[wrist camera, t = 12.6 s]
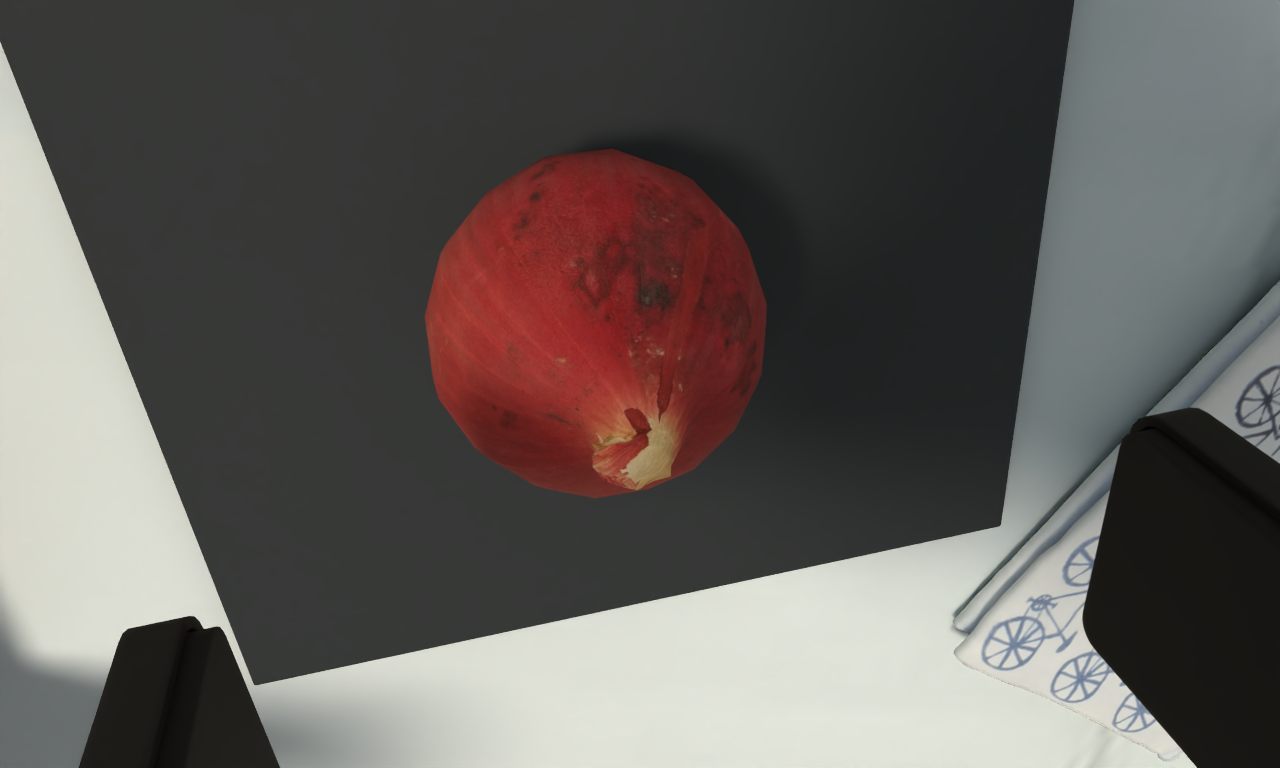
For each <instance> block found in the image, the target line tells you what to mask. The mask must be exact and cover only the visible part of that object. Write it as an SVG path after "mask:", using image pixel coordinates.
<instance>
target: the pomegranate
mask: <svg viewBox="0 0 1280 768" xmlns="http://www.w3.org/2000/svg"><path fill="white" fill-rule="evenodd" d="M766 309H767V303H766V300H765V297H764V294H763V291H762V288H761V285H760V282H759V279H758V276H757V273H756V270H755V267H754V264H753V261H752V258H751V255H750V252H749V249H748V247H747V245H746V243H745V241H744V239H743V237H742V235H741V233H740V231H739V229H738V228H737V227H736V226H735V224H734V223H733V222H732V221H731V220H730V219H729V218H728V217H727V216H726V215H725V214H724V213H723V212H722V211H721V209H720V208H719V207H718V206H717V205H716V204H715V203H714V202H713V201H712V200H711V199H710V198H709V197H708V196H707V194H706V193H705V192H704V191H703V190H702V189H701V188H700V187H699V186H698V185H697V184H696V183H695V182H694V181H693V180H692V179H690V178H688V177H687V176H685V175H683V174H681V173H679V172H677V171H675V170H672V169H670V168H667V167H664V166H661V165H658V164H655V163H652V162H650V161H647V160H644V159H641V158H638V157H635V156H633V155H630V154H627V153H624V152H621V151H618V150H615V149H605V150H596V151H588V152H579V153H571V154H562V155H554V156H546V157H542V158H540V159H539V160H537V161H536V162H534V163H532V164H531V165H529V166H528V167H526V168H524V169H523V170H521V171H520V172H518V173H517V174H515V175H513V176H512V177H510V178H509V179H507V180H505V181H504V182H502V183H501V184H499V185H498V186H496V187H494V188H493V189H491V190H490V191H488V192H486V194H485V195H484V196H483V198H482V199H481V200H480V201H479V203H478V204H477V205H476V206H475V208H474V209H473V210H472V211H471V213H470V214H469V215H468V216H467V218H466V219H465V220H464V221H463V223H462V224H461V225H460V226H459V228H458V229H457V230H456V231H455V233H454V234H453V235H452V236H451V238H450V239H449V240H448V241H447V243H446V245H445V247H444V248H443V250H442V252H441V254H440V257H439V261H438V265H437V269H436V273H435V277H434V281H433V285H432V289H431V293H430V297H429V301H428V305H427V309H426V313H425V323H426V330H427V338H428V345H429V353H430V360H431V368H432V376H433V380H434V384H435V388H436V391H437V395H438V398H439V400H440V401H441V403H442V404H443V405H444V407H445V408H446V409H447V411H448V412H449V413H450V415H451V416H452V417H453V419H454V420H455V421H456V423H457V424H458V426H459V427H460V428H461V430H462V431H463V432H464V434H465V435H466V436H467V438H468V439H469V440H470V442H471V443H472V444H473V446H474V447H475V448H476V449H477V450H479V451H480V452H481V453H482V454H484V455H485V456H486V457H488V458H489V459H490V460H492V461H494V462H496V463H497V464H499V465H501V466H502V467H504V468H506V469H508V470H509V471H511V472H513V473H514V474H516V475H518V476H520V477H521V478H523V479H525V480H526V481H528V482H530V483H532V484H533V485H535V486H538V487H542V488H546V489H550V490H555V491H560V492H565V493H570V494H576V495H581V496H586V497H591V498H600V497H606V496H612V495H617V494H623V493H629V492H635V491H641V490H646V489H650V488H652V487H654V486H657V485H659V484H661V483H664V482H666V481H668V480H671V479H673V478H675V477H678V476H680V475H682V474H685V473H687V472H689V471H692V470H694V469H695V468H696V467H697V466H698V465H699V464H700V463H701V462H702V461H703V460H704V459H705V458H706V457H707V456H708V455H709V454H710V453H711V452H713V451H714V450H715V449H716V448H717V447H718V446H719V445H720V444H721V443H722V442H723V441H724V440H725V439H726V438H727V437H728V436H729V435H730V434H731V433H732V432H734V431H735V429H736V427H737V425H738V423H739V421H740V419H741V417H742V415H743V413H744V411H745V409H746V407H747V405H748V403H749V400H750V398H751V396H752V394H753V392H754V390H755V388H756V386H757V384H758V381H759V379H760V377H761V374H762V364H763V353H764V341H765V329H766Z"/></svg>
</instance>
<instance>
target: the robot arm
mask: <svg viewBox="0 0 1280 768" xmlns="http://www.w3.org/2000/svg"><path fill="white" fill-rule="evenodd" d="M1082 621H1083V628H1084V631H1085V634H1086V636H1087V638H1088V640H1089V642H1090V644H1091V645H1092V647H1093V648H1094V649H1095V651H1096V652H1097V653H1098V654H1099V655H1100V656H1101V657H1102V659H1103V660H1104V661H1105V662H1106V663H1107V664H1108V665H1109V667H1110V668H1111V669H1112V670H1113V671H1114V672H1115V674H1116V675H1117V676H1118V677H1119V678H1120V679H1121V680H1122V682H1123V683H1124V684H1125V685H1126V686H1127V687H1128V688H1129V690H1130V691H1131V692H1132V693H1133V694H1134V695H1135V697H1136V698H1137V699H1138V700H1139V701H1140V702H1141V703H1142V705H1143V706H1144V707H1145V708H1146V709H1147V710H1148V711H1149V713H1150V714H1151V715H1152V716H1153V717H1154V718H1155V720H1156V721H1157V722H1158V723H1159V724H1160V725H1161V726H1162V728H1163V729H1164V730H1165V731H1166V732H1167V733H1168V734H1169V736H1170V737H1171V738H1172V739H1173V740H1174V741H1175V743H1176V744H1177V745H1178V746H1179V747H1180V748H1181V749H1182V751H1183V752H1184V753H1185V754H1186V755H1187V756H1188V757H1189V759H1190V760H1191V761H1192V762H1193V763H1194V764H1195V766H1196V767H1197V768H1280V463H1278V462H1277V461H1275V460H1274V459H1273V458H1271V457H1270V456H1268V455H1267V454H1266V453H1264V452H1263V451H1261V450H1260V449H1259V448H1257V447H1256V446H1254V445H1253V444H1251V443H1250V442H1249V441H1247V440H1246V439H1244V438H1243V437H1242V436H1240V435H1239V434H1237V433H1236V432H1234V431H1233V430H1232V429H1230V428H1229V427H1227V426H1226V425H1225V424H1223V423H1222V422H1220V421H1219V420H1218V419H1216V418H1215V417H1213V416H1212V415H1210V414H1209V413H1207V412H1205V411H1203V410H1201V409H1199V408H1192V407H1189V408H1184V409H1179V410H1174V411H1170V412H1165V413H1160V414H1155V415H1150V416H1146V417H1143V418H1140V419H1138V421H1137V422H1136V423H1135V424H1134V425H1133V427H1132V429H1131V432H1130V434H1128V435H1126V436H1125V437H1124V438H1123V440H1122V442H1121V445H1120V448H1119V453H1118V457H1117V462H1116V466H1115V470H1114V475H1113V479H1112V484H1111V488H1110V493H1109V497H1108V502H1107V506H1106V511H1105V515H1104V520H1103V524H1102V528H1101V533H1100V537H1099V542H1098V546H1097V551H1096V555H1095V560H1094V564H1093V569H1092V573H1091V578H1090V582H1089V586H1088V591H1087V595H1086V600H1085V604H1084V609H1083V615H1082ZM79 768H280V766H279V764H278V762H277V759H276V757H275V754H274V752H273V749H272V747H271V745H270V742H269V740H268V737H267V735H266V732H265V730H264V728H263V725H262V723H261V720H260V718H259V715H258V713H257V711H256V708H255V706H254V703H253V701H252V698H251V696H250V694H249V691H248V689H247V686H246V684H245V681H244V679H243V677H242V674H241V672H240V669H239V667H238V664H237V662H236V659H235V657H234V655H233V652H232V650H231V647H230V645H229V642H228V640H227V638H226V636H225V634H224V632H223V630H222V629H221V628H220V627H212V628H208V629H203V627H202V625H201V623H200V622H199V621H198V620H197V619H196V618H195V617H194V616H188V617H183V618H178V619H173V620H169V621H164V622H159V623H154V624H149V625H145V626H140V627H135V628H130V629H127V630H126V631H125V632H124V633H123V634H122V636H121V638H120V641H119V643H118V646H117V649H116V652H115V655H114V659H113V662H112V665H111V668H110V671H109V674H108V677H107V680H106V684H105V687H104V690H103V693H102V696H101V699H100V702H99V706H98V709H97V712H96V715H95V718H94V721H93V724H92V727H91V731H90V734H89V737H88V740H87V743H86V746H85V749H84V753H83V756H82V759H81V762H80V765H79Z"/></svg>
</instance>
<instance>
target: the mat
mask: <svg viewBox="0 0 1280 768" xmlns="http://www.w3.org/2000/svg"><path fill="white" fill-rule="evenodd" d="M1073 6H1074V0H0V42H1V44H2V47H3V50H4V52H5V55H6V57H7V60H8V62H9V65H10V67H11V70H12V72H13V75H14V77H15V80H16V82H17V85H18V88H19V90H20V93H21V95H22V98H23V100H24V103H25V105H26V108H27V110H28V113H29V115H30V118H31V121H32V123H33V126H34V128H35V131H36V133H37V136H38V138H39V141H40V143H41V146H42V148H43V151H44V153H45V156H46V159H47V161H48V164H49V166H50V169H51V171H52V174H53V176H54V179H55V181H56V184H57V186H58V189H59V192H60V194H61V197H62V199H63V202H64V204H65V207H66V209H67V212H68V214H69V217H70V219H71V222H72V224H73V227H74V230H75V232H76V235H77V237H78V240H79V242H80V245H81V247H82V250H83V252H84V255H85V257H86V260H87V262H88V265H89V268H90V270H91V273H92V275H93V278H94V280H95V283H96V285H97V288H98V290H99V293H100V295H101V298H102V301H103V303H104V306H105V308H106V311H107V313H108V316H109V318H110V321H111V323H112V326H113V328H114V331H115V333H116V336H117V339H118V341H119V344H120V346H121V349H122V351H123V354H124V356H125V359H126V361H127V364H128V366H129V369H130V372H131V374H132V377H133V379H134V382H135V384H136V387H137V389H138V392H139V394H140V397H141V399H142V402H143V404H144V407H145V410H146V412H147V415H148V417H149V420H150V422H151V425H152V427H153V430H154V432H155V435H156V437H157V440H158V442H159V445H160V448H161V450H162V453H163V455H164V458H165V460H166V463H167V465H168V468H169V470H170V473H171V475H172V478H173V481H174V483H175V486H176V488H177V491H178V493H179V496H180V498H181V501H182V503H183V506H184V508H185V511H186V513H187V516H188V519H189V521H190V524H191V526H192V529H193V531H194V534H195V536H196V539H197V541H198V544H199V546H200V549H201V552H202V554H203V557H204V559H205V562H206V564H207V567H208V569H209V572H210V574H211V577H212V579H213V582H214V584H215V587H216V590H217V592H218V595H219V597H220V600H221V602H222V605H223V607H224V610H225V612H226V615H227V617H228V620H229V622H230V625H231V628H232V630H233V633H234V635H235V638H236V640H237V643H238V645H239V648H240V650H241V653H242V655H243V658H244V661H245V663H246V666H247V668H248V671H249V673H250V676H251V678H252V681H253V683H254V685H260V684H265V683H269V682H274V681H279V680H283V679H288V678H293V677H297V676H302V675H307V674H311V673H316V672H321V671H325V670H330V669H335V668H339V667H344V666H349V665H353V664H358V663H363V662H367V661H372V660H377V659H381V658H386V657H391V656H395V655H400V654H405V653H409V652H414V651H419V650H423V649H428V648H433V647H437V646H442V645H447V644H451V643H456V642H461V641H465V640H470V639H475V638H480V637H484V636H489V635H494V634H498V633H503V632H508V631H512V630H517V629H522V628H526V627H531V626H536V625H540V624H545V623H550V622H554V621H559V620H564V619H568V618H573V617H578V616H582V615H587V614H592V613H596V612H601V611H606V610H610V609H615V608H620V607H624V606H629V605H634V604H638V603H643V602H648V601H652V600H657V599H662V598H666V597H671V596H676V595H680V594H685V593H690V592H694V591H699V590H704V589H709V588H713V587H718V586H723V585H727V584H732V583H737V582H741V581H746V580H751V579H755V578H760V577H765V576H769V575H774V574H779V573H783V572H788V571H793V570H797V569H802V568H807V567H811V566H816V565H821V564H825V563H830V562H835V561H839V560H844V559H849V558H853V557H858V556H863V555H867V554H872V553H877V552H881V551H886V550H891V549H895V548H900V547H905V546H909V545H914V544H919V543H923V542H928V541H933V540H938V539H942V538H947V537H952V536H956V535H961V534H966V533H970V532H975V531H980V530H984V529H989V528H994V527H998V526H1000V525H1001V520H1002V513H1003V506H1004V498H1005V491H1006V484H1007V477H1008V470H1009V463H1010V456H1011V448H1012V441H1013V434H1014V427H1015V420H1016V413H1017V406H1018V398H1019V391H1020V384H1021V377H1022V370H1023V363H1024V356H1025V348H1026V341H1027V334H1028V327H1029V320H1030V313H1031V306H1032V298H1033V291H1034V284H1035V277H1036V270H1037V263H1038V256H1039V248H1040V241H1041V234H1042V227H1043V220H1044V213H1045V206H1046V198H1047V191H1048V184H1049V177H1050V170H1051V163H1052V156H1053V148H1054V141H1055V134H1056V127H1057V120H1058V113H1059V106H1060V98H1061V91H1062V84H1063V77H1064V70H1065V63H1066V56H1067V48H1068V41H1069V34H1070V27H1071V20H1072V13H1073ZM605 149H615V150H618V151H621V152H624V153H627V154H630V155H633V156H635V157H638V158H641V159H644V160H647V161H650V162H652V163H655V164H658V165H661V166H664V167H667V168H670V169H672V170H675V171H677V172H679V173H681V174H683V175H685V176H687V177H688V178H690V179H692V180H693V181H694V182H695V183H696V184H697V185H698V186H699V187H700V188H701V189H702V190H703V191H704V192H705V193H706V194H707V196H708V197H709V198H710V199H711V200H712V201H713V202H714V203H715V204H716V205H717V206H718V207H719V208H720V209H721V211H722V212H723V213H724V214H725V215H726V216H727V217H728V218H729V219H730V220H731V221H732V222H733V223H734V224H735V226H736V227H737V228H738V229H739V231H740V233H741V235H742V237H743V239H744V241H745V243H746V245H747V247H748V249H749V252H750V255H751V258H752V261H753V264H754V267H755V270H756V273H757V276H758V279H759V282H760V285H761V288H762V291H763V294H764V297H765V300H766V303H767V309H766V329H765V341H764V353H763V364H762V374H761V377H760V379H759V381H758V384H757V386H756V388H755V390H754V392H753V394H752V396H751V398H750V400H749V403H748V405H747V407H746V409H745V411H744V413H743V415H742V417H741V419H740V421H739V423H738V425H737V427H736V429H735V431H734V432H732V433H731V434H730V435H729V436H728V437H727V438H726V439H725V440H724V441H723V442H722V443H721V444H720V445H719V446H718V447H717V448H716V449H715V450H714V451H713V452H711V453H710V454H709V455H708V456H707V457H706V458H705V459H704V460H703V461H702V462H701V463H700V464H699V465H698V466H697V467H696V468H695V469H694V470H692V471H689V472H687V473H685V474H682V475H680V476H678V477H675V478H673V479H671V480H668V481H666V482H664V483H661V484H659V485H657V486H654V487H652V488H650V489H646V490H641V491H635V492H629V493H623V494H617V495H612V496H606V497H600V498H591V497H586V496H581V495H576V494H570V493H565V492H560V491H555V490H550V489H546V488H542V487H538V486H535V485H533V484H532V483H530V482H528V481H526V480H525V479H523V478H521V477H520V476H518V475H516V474H514V473H513V472H511V471H509V470H508V469H506V468H504V467H502V466H501V465H499V464H497V463H496V462H494V461H492V460H490V459H489V458H488V457H486V456H485V455H484V454H482V453H481V452H480V451H479V450H477V449H476V448H475V447H474V446H473V444H472V443H471V442H470V440H469V439H468V438H467V436H466V435H465V434H464V432H463V431H462V430H461V428H460V427H459V426H458V424H457V423H456V421H455V420H454V419H453V417H452V416H451V415H450V413H449V412H448V411H447V409H446V408H445V407H444V405H443V404H442V403H441V401H440V400H439V398H438V395H437V391H436V388H435V384H434V380H433V376H432V368H431V360H430V353H429V345H428V338H427V330H426V323H425V313H426V309H427V305H428V301H429V297H430V293H431V289H432V285H433V281H434V277H435V273H436V269H437V265H438V261H439V257H440V254H441V252H442V250H443V248H444V247H445V245H446V243H447V241H448V240H449V239H450V238H451V236H452V235H453V234H454V233H455V231H456V230H457V229H458V228H459V226H460V225H461V224H462V223H463V221H464V220H465V219H466V218H467V216H468V215H469V214H470V213H471V211H472V210H473V209H474V208H475V206H476V205H477V204H478V203H479V201H480V200H481V199H482V198H483V196H484V195H485V194H486V192H488V191H490V190H491V189H493V188H494V187H496V186H498V185H499V184H501V183H502V182H504V181H505V180H507V179H509V178H510V177H512V176H513V175H515V174H517V173H518V172H520V171H521V170H523V169H524V168H526V167H528V166H529V165H531V164H532V163H534V162H536V161H537V160H539V159H540V158H542V157H546V156H554V155H562V154H571V153H579V152H588V151H596V150H605Z"/></svg>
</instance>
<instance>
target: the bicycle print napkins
mask: <svg viewBox="0 0 1280 768" xmlns="http://www.w3.org/2000/svg"><path fill="white" fill-rule="evenodd" d="M1189 407H1192V408H1199V409H1201V410H1203V411H1205V412H1207V413H1209V414H1210V415H1212V416H1213V417H1215V418H1216V419H1218V420H1219V421H1220V422H1222V423H1223V424H1225V425H1226V426H1227V427H1229V428H1230V429H1232V430H1233V431H1234V432H1236V433H1237V434H1239V435H1240V436H1242V437H1243V438H1244V439H1246V440H1247V441H1249V442H1250V443H1251V444H1253V445H1254V446H1256V447H1257V448H1259V449H1260V450H1261V451H1263V452H1264V453H1266V454H1267V455H1268V456H1270V457H1271V458H1273V459H1274V460H1275V461H1277V462H1278V463H1280V281H1279V282H1278V283H1277V284H1276V285H1275V286H1274V287H1273V288H1272V289H1271V290H1270V291H1269V292H1268V293H1267V294H1266V295H1265V296H1264V297H1263V298H1262V299H1261V301H1260V302H1259V303H1258V304H1257V305H1256V306H1255V307H1254V308H1253V309H1252V310H1251V311H1250V312H1249V313H1248V314H1247V315H1246V316H1245V317H1244V318H1243V319H1242V320H1241V321H1240V322H1238V324H1237V325H1236V326H1235V327H1234V328H1233V329H1232V330H1231V331H1230V332H1229V333H1228V334H1227V335H1226V336H1225V337H1224V338H1223V339H1222V340H1221V341H1220V342H1219V343H1218V344H1217V345H1216V346H1215V347H1213V348H1212V349H1211V350H1210V351H1209V352H1208V353H1207V354H1206V355H1205V356H1204V357H1203V358H1202V359H1201V360H1200V361H1199V363H1198V364H1197V365H1196V366H1195V367H1194V368H1193V369H1192V370H1191V371H1190V372H1189V373H1188V374H1187V375H1186V376H1185V377H1184V378H1183V379H1182V380H1181V381H1180V382H1179V383H1178V384H1177V385H1176V386H1175V387H1174V388H1173V389H1172V390H1171V391H1170V392H1169V393H1168V394H1167V395H1166V396H1165V397H1164V398H1163V399H1162V400H1161V401H1160V402H1159V403H1158V404H1157V405H1156V406H1155V407H1154V408H1153V409H1152V410H1151V411H1150V412H1149V413H1148V414H1147V415H1146V416H1150V415H1155V414H1160V413H1165V412H1170V411H1174V410H1179V409H1184V408H1189ZM1146 416H1145V417H1146ZM1129 434H1130V433H1129ZM1120 445H1121V443H1120V444H1119V445H1118V446H1117V447H1116V448H1115V449H1114V450H1113V451H1112V452H1111V453H1110V455H1109V456H1108V457H1107V458H1106V459H1105V460H1104V461H1103V462H1102V463H1101V464H1100V465H1099V466H1098V467H1097V468H1096V469H1095V470H1094V471H1093V472H1092V473H1091V474H1090V476H1089V477H1088V478H1087V479H1086V480H1085V481H1084V482H1083V483H1082V484H1081V485H1080V486H1079V488H1078V489H1077V490H1076V491H1075V492H1074V493H1073V494H1072V495H1071V496H1070V497H1069V498H1068V499H1067V500H1066V501H1065V503H1064V504H1063V505H1062V506H1061V507H1060V508H1059V509H1058V510H1057V511H1056V512H1055V513H1054V515H1053V516H1052V517H1051V518H1050V519H1049V520H1048V521H1047V522H1046V523H1045V524H1044V525H1043V526H1042V527H1041V528H1040V529H1039V530H1038V531H1037V533H1036V534H1035V535H1034V536H1033V537H1032V538H1031V539H1030V540H1029V541H1028V542H1027V543H1026V544H1025V545H1024V546H1023V547H1022V548H1021V549H1020V550H1019V551H1018V552H1017V553H1016V555H1015V556H1014V557H1013V558H1012V559H1011V560H1010V561H1009V562H1008V563H1007V564H1006V565H1005V566H1004V567H1003V568H1002V569H1001V570H1000V571H999V572H998V573H997V574H996V575H995V576H994V577H993V578H992V579H991V580H990V582H989V583H988V584H987V585H986V586H985V587H984V588H983V589H982V590H981V591H980V592H979V593H978V594H977V595H976V596H975V597H974V598H973V599H972V600H971V601H970V603H969V604H968V605H967V606H966V607H965V608H964V609H963V611H962V612H961V613H960V614H959V615H958V616H957V617H956V618H955V619H954V620H953V623H954V625H955V627H956V628H957V629H958V630H961V631H964V632H967V633H969V634H970V635H969V636H968V637H967V638H966V639H965V640H964V641H963V642H962V643H961V644H960V645H959V646H958V647H957V648H956V649H955V650H954V654H955V656H956V658H957V659H958V660H959V661H960V662H961V663H963V664H964V665H966V666H968V667H969V668H972V669H975V670H978V671H981V672H983V673H985V674H987V675H989V676H991V677H994V678H996V679H998V680H1001V681H1003V682H1005V683H1008V684H1011V685H1014V686H1017V687H1020V688H1023V689H1026V690H1028V691H1031V692H1033V693H1036V694H1038V695H1041V696H1043V697H1045V698H1047V699H1050V700H1052V701H1054V702H1056V703H1058V704H1060V705H1062V706H1065V707H1067V708H1069V709H1071V710H1073V711H1075V712H1077V713H1079V714H1081V715H1083V716H1085V717H1086V718H1088V719H1090V720H1092V721H1094V722H1096V723H1098V724H1100V725H1102V726H1104V727H1106V728H1108V729H1110V730H1112V731H1114V732H1116V733H1118V734H1120V735H1122V736H1123V737H1125V738H1127V739H1129V740H1131V741H1132V742H1134V743H1137V744H1139V745H1142V746H1144V747H1145V748H1147V749H1148V750H1150V751H1152V752H1154V753H1157V755H1158V757H1159V758H1160V759H1161V760H1163V761H1173V760H1175V759H1177V758H1179V757H1180V755H1181V754H1182V753H1183V751H1182V749H1181V748H1180V747H1179V746H1178V745H1177V744H1176V743H1175V741H1174V740H1173V739H1172V738H1171V737H1170V736H1169V734H1168V733H1167V732H1166V731H1165V730H1164V729H1163V728H1162V726H1161V725H1160V724H1159V723H1158V722H1157V721H1156V720H1155V718H1154V717H1153V716H1152V715H1151V714H1150V713H1149V711H1148V710H1147V709H1146V708H1145V707H1144V706H1143V705H1142V703H1141V702H1140V701H1139V700H1138V699H1137V698H1136V697H1135V695H1134V694H1133V693H1132V692H1131V691H1130V690H1129V688H1128V687H1127V686H1126V685H1125V684H1124V683H1123V682H1122V680H1121V679H1120V678H1119V677H1118V676H1117V675H1116V674H1115V672H1114V671H1113V670H1112V669H1111V668H1110V667H1109V665H1108V664H1107V663H1106V662H1105V661H1104V660H1103V659H1102V657H1101V656H1100V655H1099V654H1098V653H1097V652H1096V651H1095V649H1094V648H1093V647H1092V645H1091V644H1090V642H1089V640H1088V638H1087V636H1086V634H1085V631H1084V628H1083V621H1082V615H1083V609H1084V604H1085V600H1086V595H1087V591H1088V586H1089V582H1090V578H1091V573H1092V569H1093V564H1094V560H1095V555H1096V551H1097V546H1098V542H1099V537H1100V533H1101V528H1102V524H1103V520H1104V515H1105V511H1106V506H1107V502H1108V497H1109V493H1110V488H1111V484H1112V479H1113V475H1114V470H1115V466H1116V462H1117V457H1118V453H1119V448H1120Z"/></svg>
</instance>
